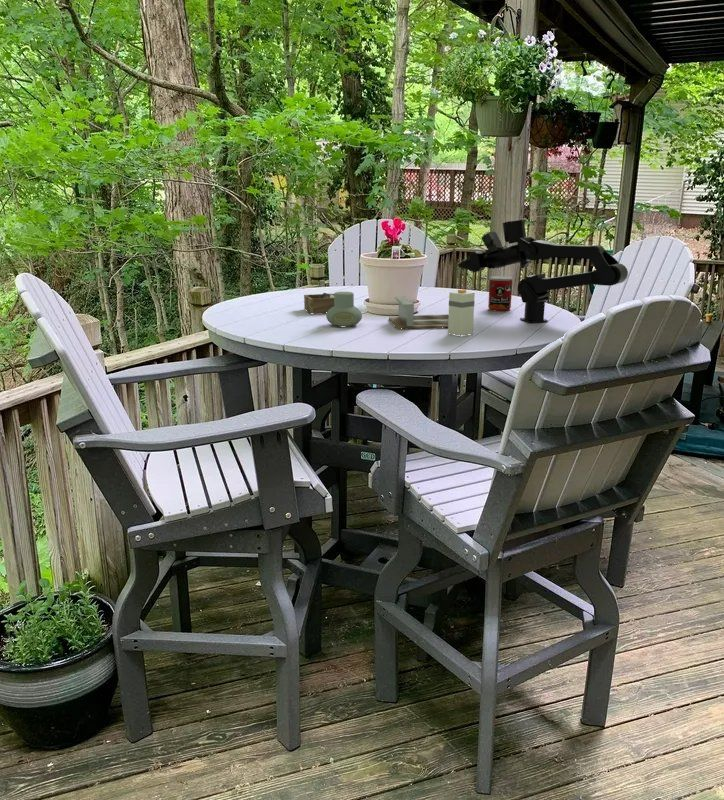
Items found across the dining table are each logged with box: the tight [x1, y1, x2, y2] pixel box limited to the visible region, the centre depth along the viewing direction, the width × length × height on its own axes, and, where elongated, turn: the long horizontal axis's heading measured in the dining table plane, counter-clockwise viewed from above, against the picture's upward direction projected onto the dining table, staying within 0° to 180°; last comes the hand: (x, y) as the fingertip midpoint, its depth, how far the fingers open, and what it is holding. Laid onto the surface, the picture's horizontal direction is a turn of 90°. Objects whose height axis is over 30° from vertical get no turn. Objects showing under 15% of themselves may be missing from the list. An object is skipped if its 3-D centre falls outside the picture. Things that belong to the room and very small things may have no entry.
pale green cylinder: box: [447, 288, 476, 336], centre depth 196 cm, size 5×5×13 cm
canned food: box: [488, 275, 513, 312], centre depth 237 cm, size 8×8×11 cm
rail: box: [394, 296, 415, 326], centre depth 211 cm, size 3×15×7 cm, turn 7°
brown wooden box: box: [303, 293, 335, 314], centre depth 235 cm, size 10×13×5 cm
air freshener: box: [325, 291, 363, 327], centre depth 210 cm, size 11×8×10 cm
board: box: [388, 313, 449, 330], centre depth 213 cm, size 22×16×2 cm
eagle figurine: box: [317, 292, 334, 298], centre depth 235 cm, size 8×7×9 cm
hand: (466, 264), depth 228 cm, fingers open, 9 cm apart
